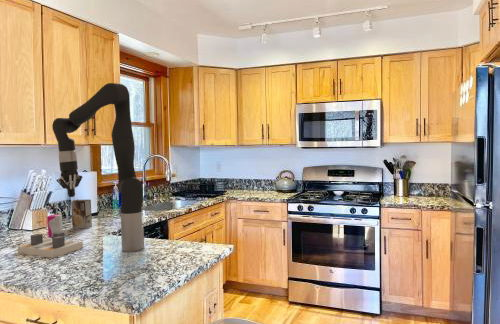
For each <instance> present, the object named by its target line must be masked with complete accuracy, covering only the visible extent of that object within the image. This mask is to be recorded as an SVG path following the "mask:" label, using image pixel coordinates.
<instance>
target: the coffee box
mask: <svg viewBox="0 0 500 324" xmlns="http://www.w3.org/2000/svg"><path fill="white" fill-rule="evenodd" d="M70 205H71V223H72V224H71V225H72V227H71V228H72V229H89V228H91V227H93V223H92V222H93V221H92V220H93V219H92V200H91V199H74V200H71V201H70Z"/></svg>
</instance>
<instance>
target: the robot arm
mask: <svg viewBox="0 0 500 324" xmlns="http://www.w3.org/2000/svg"><path fill="white" fill-rule="evenodd" d="M130 97H131V96H130V92H129V90H128V88H127V86H126V85H124V84H122V83H114V82H108V83H106V84H104V85H103V86H102V87H101V88H100V89H99V90H98V91H97V92H96V93H95V94H93V95H92V97H90V98H89V99H88V100H87V101H86V102H83V104H82V105H80V106H78V107H77V108H75V109H73V110H72V111H71V112H70V113H69V114H68V117H56V118H54V120H53V121H52V127H51V128H52V131H53V134H54V136H55V139H56V141H57V146H58V161H59V171H60V177H59V178H57V179H56V182H57V183H58V184H59V185H60V186H61V187H62V188H63V189H65V190H67V196H68V197H69V198H73V197H74V198H75V195H76V193H75V192H76V190H75V189H76V188H78V187H79V186H80V184H81V181H82V179H83V175H80V174H79V172H78V169H79V168H78V166H79V165H78V158H77V151H76V142H75V139H74V138H72V137H69V136H68V134H71V133H74V132H76V131H78V130H79V128H80V127H81V126H82V125H83V124H85V123H87V122H88V121H89V120H91V119H92V118H93V117H94V116H95V115H96V114H97V112H98V111H99V110H100V109H101V108H104V107H106V106H109V105H113V106H114V110H115V111H114V112H115V118H114V123H113V125H112V126H113V127H112V129H111V130H112V131H111V141H112V146H113V147H112V148H113V153H114V158H115V162H116V166H117V179H118V191H119V193H120V194H121V195H120V196H121V197H120V198H121V199H120V200H121V201H120V203H121V204H120V209H119V210H120V231H121V232H120V233H121V236H120V237H121V251H122V252H125V253H126V252H127V253H132V252H138V251H141V250H142V249H144V248H145V235H144V234H145V229H144V226H143V214H142V213H143V208H142V207H143V202H144V201H143V191H144V190H143V185H142V182H141V181H140V179H138V178H137V175H136V170H135V138H134V134H133V127H132V126H133V125H132V124H133V123H132V117H131V102H130V101H131V100H130Z"/></svg>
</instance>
